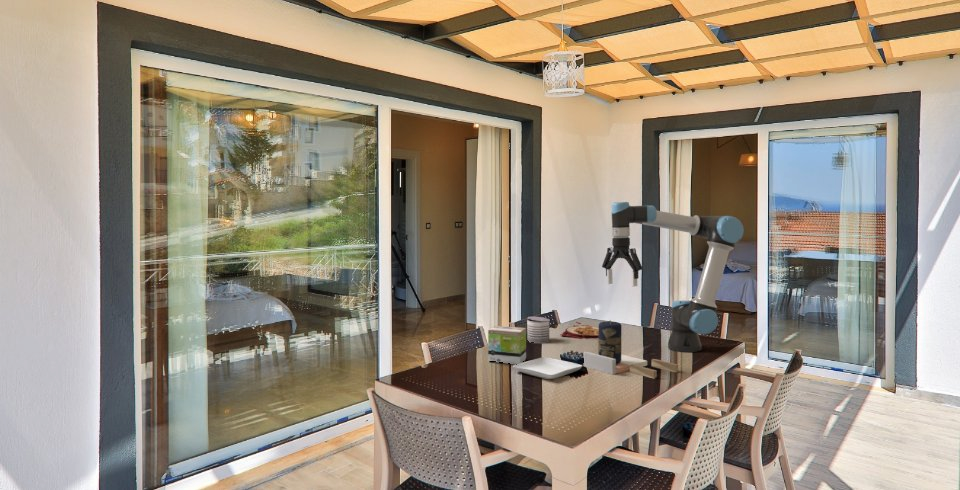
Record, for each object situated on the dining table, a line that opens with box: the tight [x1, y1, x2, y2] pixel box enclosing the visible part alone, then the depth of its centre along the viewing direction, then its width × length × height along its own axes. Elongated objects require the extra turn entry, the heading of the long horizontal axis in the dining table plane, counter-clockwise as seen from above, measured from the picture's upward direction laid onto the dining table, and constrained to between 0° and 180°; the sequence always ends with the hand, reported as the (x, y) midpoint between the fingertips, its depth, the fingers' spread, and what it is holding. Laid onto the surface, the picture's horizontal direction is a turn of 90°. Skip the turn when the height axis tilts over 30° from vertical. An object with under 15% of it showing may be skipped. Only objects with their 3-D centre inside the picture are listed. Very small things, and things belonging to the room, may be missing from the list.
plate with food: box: [559, 321, 599, 340], centre depth 308 cm, size 25×26×4 cm
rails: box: [629, 358, 679, 380], centre depth 234 cm, size 16×12×3 cm
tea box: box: [487, 325, 527, 365], centre depth 254 cm, size 15×10×15 cm, turn 70°
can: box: [526, 316, 550, 344], centre depth 293 cm, size 11×11×12 cm
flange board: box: [582, 351, 648, 375], centre depth 244 cm, size 22×16×6 cm
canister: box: [597, 320, 623, 364], centre depth 241 cm, size 10×10×18 cm
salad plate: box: [512, 356, 583, 380], centre depth 236 cm, size 21×21×3 cm
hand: (622, 285), depth 253 cm, fingers open, 13 cm apart
